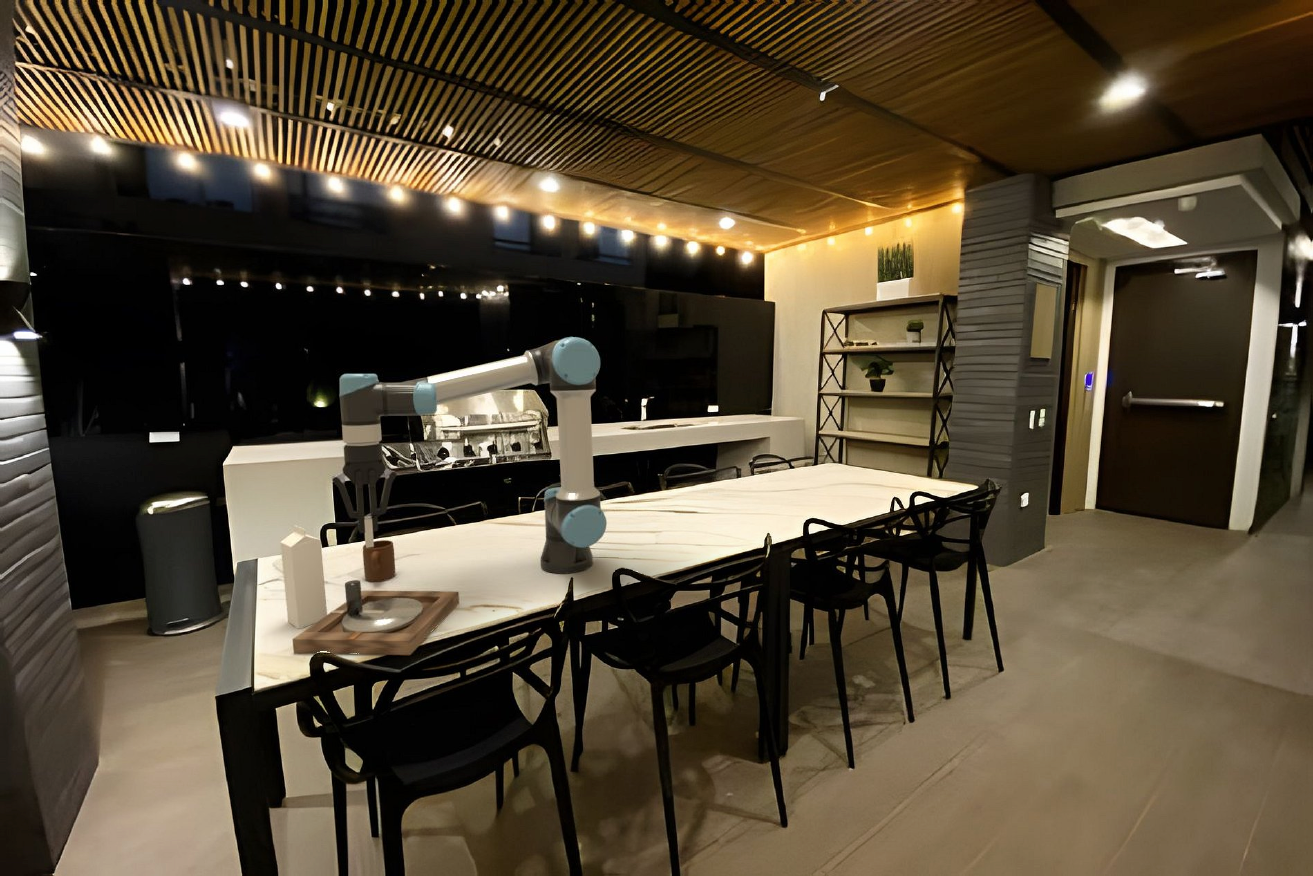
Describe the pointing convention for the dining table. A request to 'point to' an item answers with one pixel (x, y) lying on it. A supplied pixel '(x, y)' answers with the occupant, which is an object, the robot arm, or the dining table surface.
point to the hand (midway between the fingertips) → (369, 545)
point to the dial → (377, 612)
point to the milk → (303, 578)
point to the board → (398, 642)
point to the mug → (379, 561)
